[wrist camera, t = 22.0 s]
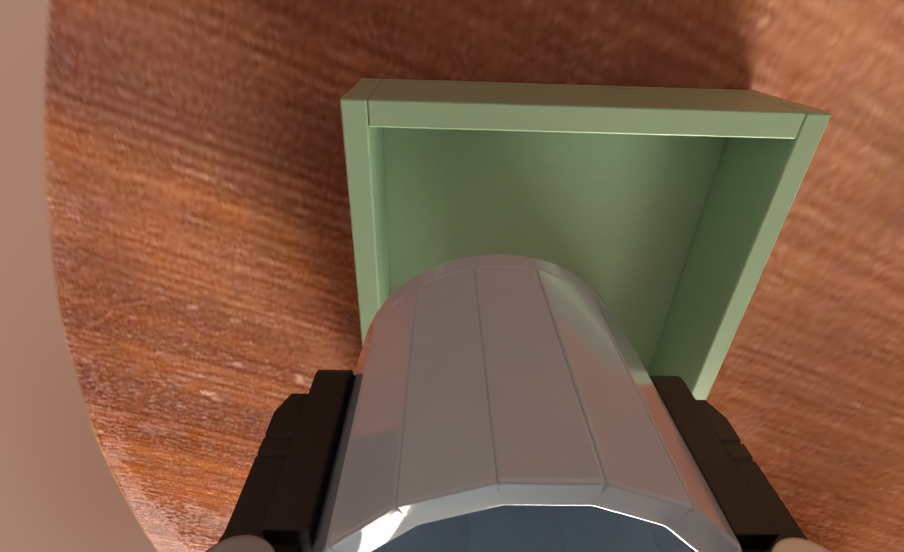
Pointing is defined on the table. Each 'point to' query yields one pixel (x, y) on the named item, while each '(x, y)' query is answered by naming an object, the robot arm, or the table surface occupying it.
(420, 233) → the tub
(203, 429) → the table surface
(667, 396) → the robot arm
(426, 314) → the gray cup
